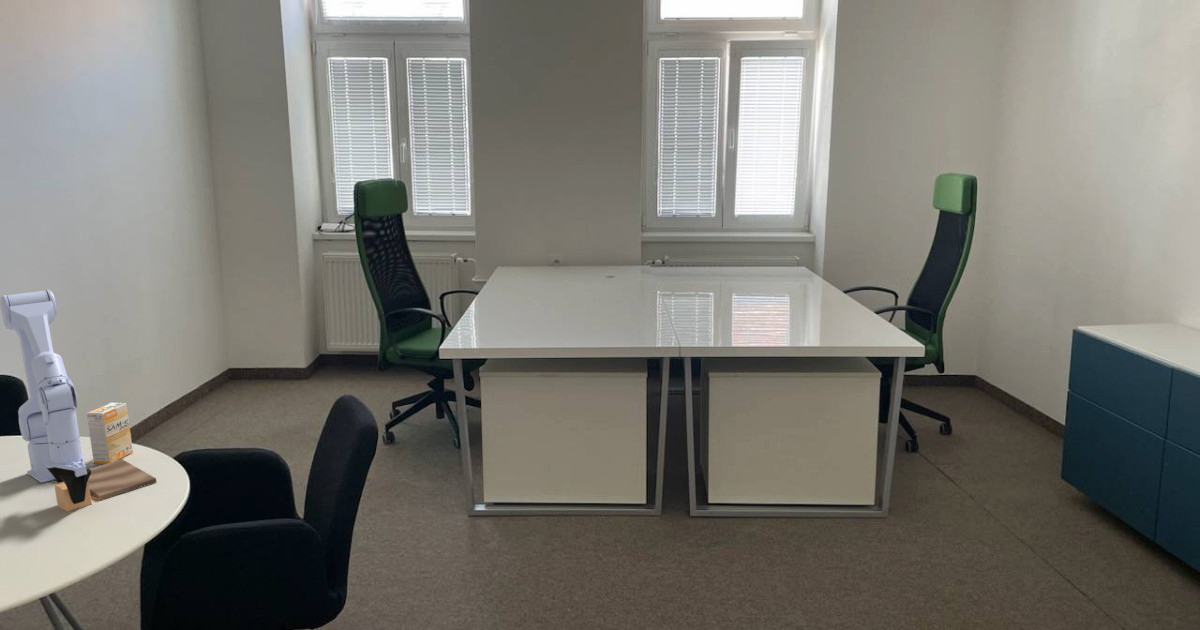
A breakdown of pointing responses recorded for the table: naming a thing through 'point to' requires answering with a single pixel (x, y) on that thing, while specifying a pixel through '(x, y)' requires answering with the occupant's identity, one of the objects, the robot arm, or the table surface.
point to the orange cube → (64, 497)
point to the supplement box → (109, 433)
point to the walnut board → (116, 479)
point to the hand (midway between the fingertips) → (73, 498)
